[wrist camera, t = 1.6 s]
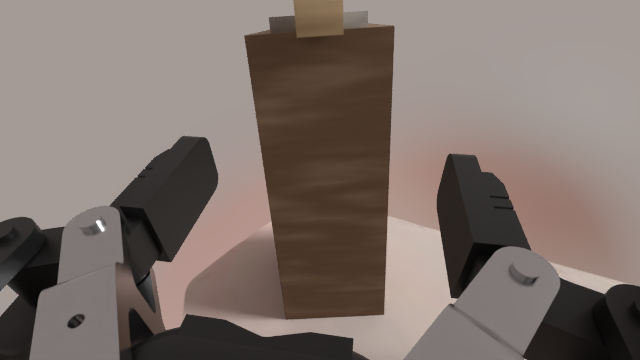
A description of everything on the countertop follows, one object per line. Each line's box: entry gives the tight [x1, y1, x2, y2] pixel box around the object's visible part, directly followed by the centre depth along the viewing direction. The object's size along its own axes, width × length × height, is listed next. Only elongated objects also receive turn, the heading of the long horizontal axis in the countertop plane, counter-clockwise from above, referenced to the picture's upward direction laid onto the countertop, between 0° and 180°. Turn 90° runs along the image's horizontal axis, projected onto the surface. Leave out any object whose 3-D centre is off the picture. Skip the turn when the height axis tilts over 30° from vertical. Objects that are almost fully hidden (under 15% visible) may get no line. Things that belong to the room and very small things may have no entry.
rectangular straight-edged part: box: [269, 0, 368, 38], centre depth 28 cm, size 22×8×3 cm, turn 1°
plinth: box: [245, 24, 394, 319], centre depth 40 cm, size 15×12×32 cm
